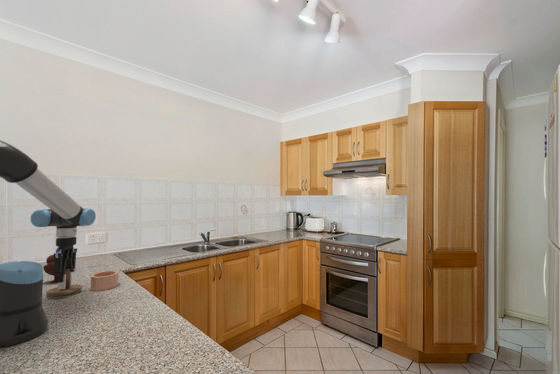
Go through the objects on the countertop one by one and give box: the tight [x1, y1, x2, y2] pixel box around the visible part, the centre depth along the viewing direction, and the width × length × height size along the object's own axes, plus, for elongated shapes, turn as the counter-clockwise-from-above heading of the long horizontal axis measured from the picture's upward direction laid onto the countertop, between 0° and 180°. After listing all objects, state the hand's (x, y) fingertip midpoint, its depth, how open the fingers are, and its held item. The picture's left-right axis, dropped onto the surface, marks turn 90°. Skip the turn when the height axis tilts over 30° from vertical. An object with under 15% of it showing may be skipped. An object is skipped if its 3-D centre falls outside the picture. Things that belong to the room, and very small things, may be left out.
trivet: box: [43, 287, 86, 300], centre depth 122 cm, size 11×11×1 cm
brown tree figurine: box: [42, 254, 66, 284], centre depth 140 cm, size 11×11×15 cm
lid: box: [45, 269, 83, 296], centre depth 122 cm, size 13×13×10 cm
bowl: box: [90, 270, 119, 292], centre depth 130 cm, size 11×11×7 cm
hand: (64, 287), depth 122 cm, fingers closed on lid, 4 cm apart
